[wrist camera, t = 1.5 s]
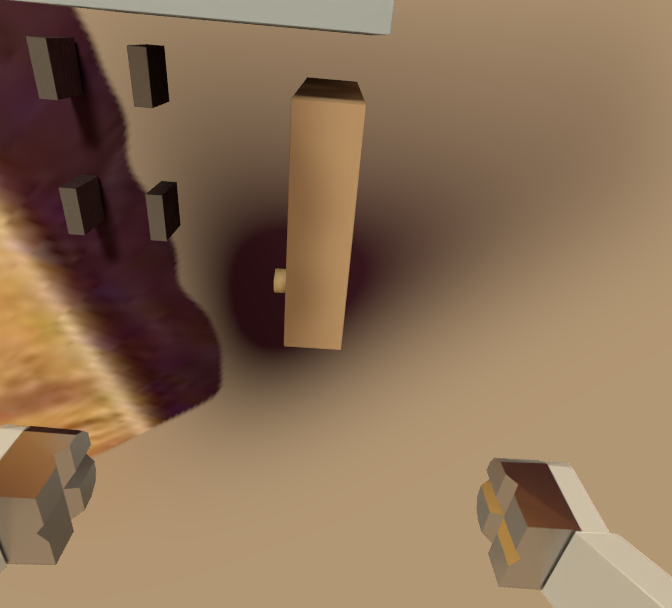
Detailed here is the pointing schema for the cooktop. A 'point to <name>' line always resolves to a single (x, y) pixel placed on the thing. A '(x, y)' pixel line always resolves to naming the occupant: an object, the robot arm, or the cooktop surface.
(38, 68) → the hinge clips
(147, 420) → the cooktop surface
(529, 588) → the robot arm
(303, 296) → the door
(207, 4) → the cabinet
